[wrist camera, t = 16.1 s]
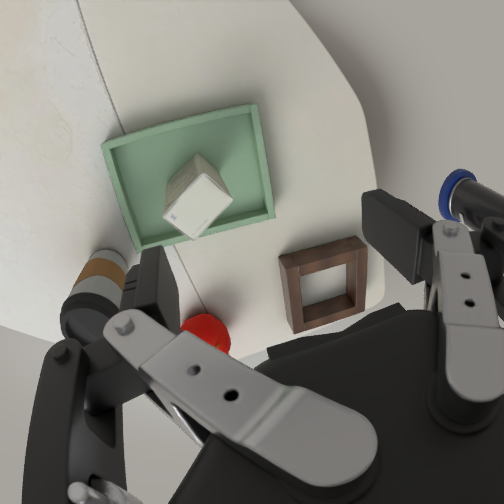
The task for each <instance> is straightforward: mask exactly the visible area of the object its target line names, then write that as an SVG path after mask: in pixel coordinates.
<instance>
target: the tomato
mask: <svg viewBox="0 0 504 504" xmlns="http://www.w3.org/2000/svg"><path fill="white" fill-rule="evenodd" d="M183 330H186V331H188V332H190V333H192V334H194V335H195V336H197V337H198V338H200V339H202V340H203V341H205V342H207V343H208V344H210V345H212V346H213V347H215V348H217V349H219V350H220V351H222V352H224V353H225V354H227V355H228V352H229V350H230V346H231V341H230V336H229V333H228V331H227V328H226V326H225V325H224V324H223V323H222V321H221V320H218V319H216V318H215V317H214V316H213V315H210V314H198V315H196V316H194V317H192V318H190V319H188V320H186V321H185V322H184V323H183V324H182V326H181V332H182V331H183Z"/></svg>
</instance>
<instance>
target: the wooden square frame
mask: <svg viewBox="0 0 504 504" xmlns="http://www.w3.org/2000/svg"><path fill="white" fill-rule="evenodd" d="M278 259H279V266H280V273H281V280H282V287H283V294H284V301H285V308H286V315H287V321H288V323H289V325H290V327H291V329H292V332H293V334H297V333H300V332H303V331H307V330H310V329H313V328H316V327H319V326H322V325H325V324H328V323H331V322H334V321H337V320H340V319H343V318H346V317H349V316H352V315H355V314H358V313H360V312H363V311H365V297H366V277H367V245H365V244H364V243H363V242H362V241H361V240H360V239H359V238H358V237H357V236H353V237H349V238H346V239H342V240H338V241H335V242H331V243H327V244H324V245H320V246H316V247H312V248H309V249H305V250H301V251H298V252H294V253H290V254H286V255H282V256H279V257H278ZM345 263H346V294H344V295H341V296H338V297H335V298H332V299H329V300H326V301H322V302H319V303H316V304H313V305H309V306H306V307H303V308H302V300H301V290H300V280H299V277H300V276H303V275H307V274H310V273H314V272H317V271H321V270H324V269H328V268H331V267H334V266H338V265H341V264H345Z"/></svg>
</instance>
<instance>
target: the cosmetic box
mask: <svg viewBox="0 0 504 504" xmlns="http://www.w3.org/2000/svg"><path fill="white" fill-rule="evenodd" d="M232 201H233V198H232V196H231V195H230V193H229V191H228V189H227V187H226V185H225V183H224V181H223V179H222V177H221V175H220V173H219V172H218V171H217V170H216V169H215V168H214V167H213V166H212V165H211V164H210V163H209V162H208V161H207V160H206V159H205V158H203V157H202V156H201V155H200V154H199V153H196V154H195V155H194V156H193V157H192V158H191V159H190V160H189V161H188V162H187V163H186V164H185V165H184V166H183V167H182V168H181V169H180V170H179V171H178V172H177V173H176V174H175V175H174V176H173V177H172V179H171V180H170V181H169V182H168V183H167V184H166V191H165V198H164V207H163V215H162V217H163V218H164V219H165V220H166V221H167V222H169V223H170V224H171V225H172V226H173V227H175V228H176V229H177V230H179V231H180V232H181V233H182V234H184V235H185V236H186V237H188V238H189V239H190V240H192V241H194V240H195V239H196V238H197V237H198V236H199V235H201V234H202V233H203V232H204V231H205V230H206V229H207V228H208V227H209V226H210V225H211V224H212V222H213V221H214V220H215V219H216V218H217V217H218V216H219V215H220V214H221V213H222V212H223V211H224V210H225V209H226V208H227V207H228V206H229V205H230V204H231V202H232Z"/></svg>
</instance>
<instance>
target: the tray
mask: <svg viewBox="0 0 504 504" xmlns="http://www.w3.org/2000/svg"><path fill="white" fill-rule="evenodd" d="M101 148H102V151H103V155H104V158H105V161H106V165H107V168H108V171H109V174H110V178H111V181H112V184H113V187H114V190H115V193H116V196H117V199H118V202H119V205H120V208H121V211H122V214H123V217H124V219H125V222H126V225H127V228H128V231H129V233H130V236H131V239H132V241H133V244H134V247H135V249H136V252H137V254H139V253H142V250H144V249H147V248H151V247H154V246H158V245H162V246H163V247H165V246H169V245H172V244H176V243H180V242H183V241H187V240H190V239H189V238H188V237H186V236H185V235H184V234H182V233H181V232H180V231H179V230H177V229H176V228H175V227H173V226H172V225H171V224H170V223H169V222H167V221H166V220H165V219H164V218H163V217H162V215H163V207H164V198H165V191H166V184H167V183H168V182H169V181H170V180H171V179H172V177H173V176H174V175H175V174H176V173H177V172H178V171H179V170H180V169H181V168H182V167H183V166H184V165H185V164H186V163H187V162H188V161H189V160H190V159H191V158H192V157H193V156H194V155H195V154H196V153H199V154H200V155H201V156H202V157H203V158H205V159H206V160H207V161H208V162H209V163H210V164H211V165H212V166H213V167H214V168H215V169H216V170H217V171H218V172H219V173H220V175H221V177H222V179H223V181H224V183H225V185H226V187H227V189H228V191H229V193H230V195H231V196H232V198H233V201H232V202H231V204H230V205H229V206H228V207H227V208H226V209H225V210H224V211H223V212H222V213H221V214H220V215H219V216H218V217H217V218H216V219H215V220H214V221H213V222H212V224H211V225H210V226H209V227H208V228H207V229H206V230H205V231H204V232H203V233H202V234H201V235H199V236H198V237H197V238H199V237H202V236H206V235H210V234H214V233H218V232H222V231H226V230H230V229H234V228H237V227H241V226H245V225H249V224H253V223H257V222H261V221H265V220H269V219H273V218H276V215H275V208H274V201H273V195H272V189H271V182H270V176H269V170H268V164H267V158H266V152H265V146H264V140H263V134H262V128H261V122H260V116H259V111H258V105H257V104H255V103H249V104H243V105H238V106H233V107H228V108H223V109H218V110H214V111H209V112H205V113H200V114H196V115H192V116H188V117H184V118H180V119H176V120H172V121H169V122H165V123H161V124H158V125H154V126H151V127H147V128H144V129H140V130H137V131H134V132H131V133H127V134H124V135H121V136H118V137H115V138H112V139H109V140H106V141H104V142H103V143H102V144H101Z"/></svg>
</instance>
